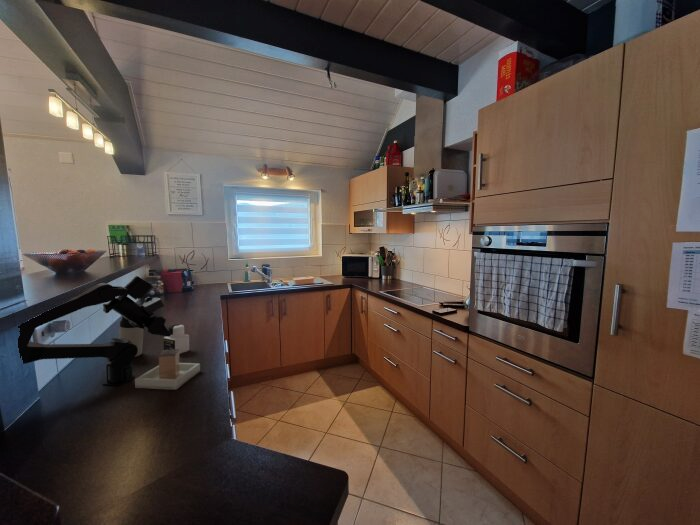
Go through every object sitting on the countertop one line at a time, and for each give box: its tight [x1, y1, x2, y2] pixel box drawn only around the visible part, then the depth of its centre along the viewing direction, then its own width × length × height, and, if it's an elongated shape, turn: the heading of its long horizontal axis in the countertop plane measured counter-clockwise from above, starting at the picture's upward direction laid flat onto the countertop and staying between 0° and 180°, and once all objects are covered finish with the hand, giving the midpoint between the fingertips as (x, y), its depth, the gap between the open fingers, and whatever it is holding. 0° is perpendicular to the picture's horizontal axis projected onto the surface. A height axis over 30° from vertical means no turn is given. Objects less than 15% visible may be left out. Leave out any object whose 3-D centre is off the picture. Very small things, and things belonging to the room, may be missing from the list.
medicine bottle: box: [163, 323, 190, 355], centre depth 128 cm, size 7×7×12 cm
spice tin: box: [158, 349, 180, 379], centre depth 102 cm, size 5×5×9 cm
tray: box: [134, 362, 201, 391], centre depth 102 cm, size 14×14×3 cm
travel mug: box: [118, 315, 144, 358], centre depth 121 cm, size 8×8×18 cm
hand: (164, 333), depth 111 cm, fingers open, 9 cm apart
